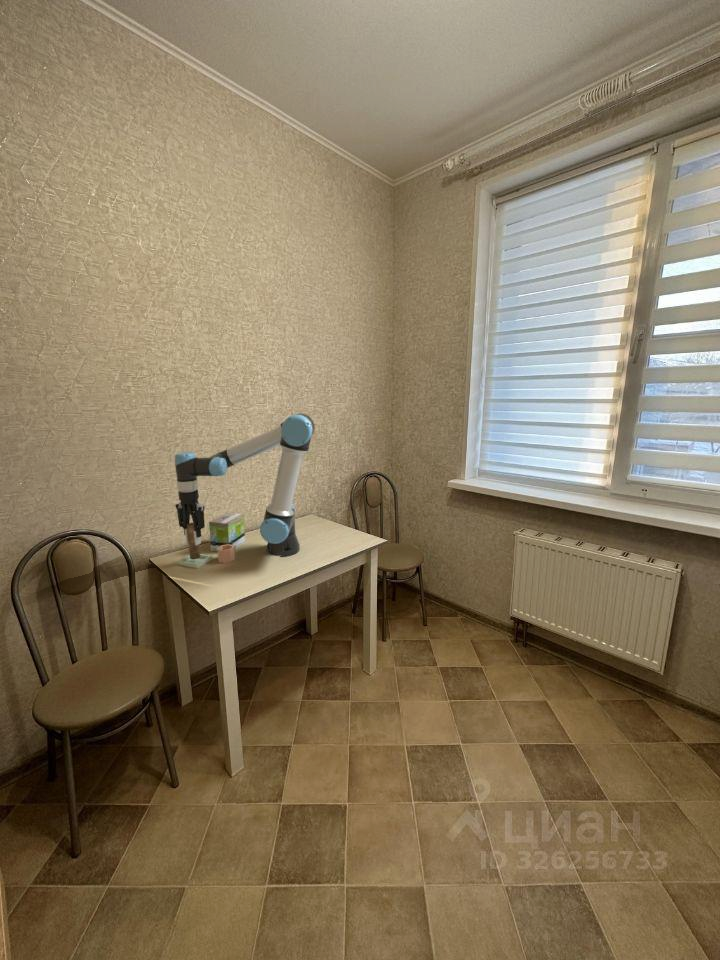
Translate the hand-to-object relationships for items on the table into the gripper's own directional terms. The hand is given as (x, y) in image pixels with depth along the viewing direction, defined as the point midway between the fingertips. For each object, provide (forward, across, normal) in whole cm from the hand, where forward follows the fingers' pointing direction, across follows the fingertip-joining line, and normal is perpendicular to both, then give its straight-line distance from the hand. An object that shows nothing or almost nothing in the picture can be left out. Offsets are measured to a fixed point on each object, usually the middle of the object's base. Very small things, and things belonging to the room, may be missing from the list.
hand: (193, 543), depth 162 cm
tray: (+9, 0, 0) cm, 9 cm away
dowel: (+6, 0, 0) cm, 6 cm away
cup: (+9, -11, -6) cm, 16 cm away
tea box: (+10, -1, -20) cm, 23 cm away
